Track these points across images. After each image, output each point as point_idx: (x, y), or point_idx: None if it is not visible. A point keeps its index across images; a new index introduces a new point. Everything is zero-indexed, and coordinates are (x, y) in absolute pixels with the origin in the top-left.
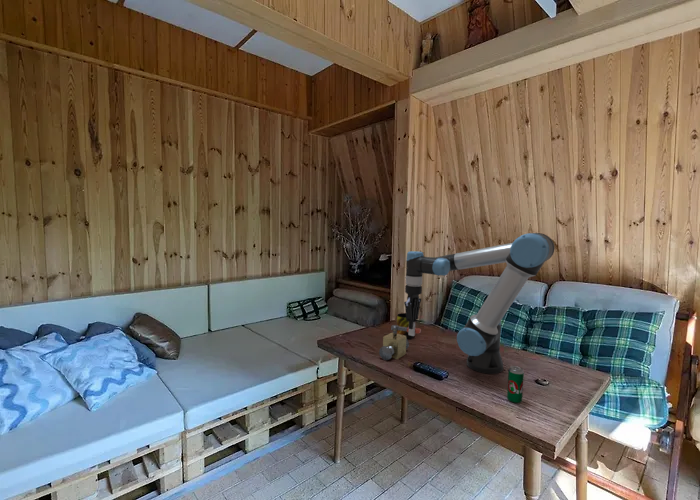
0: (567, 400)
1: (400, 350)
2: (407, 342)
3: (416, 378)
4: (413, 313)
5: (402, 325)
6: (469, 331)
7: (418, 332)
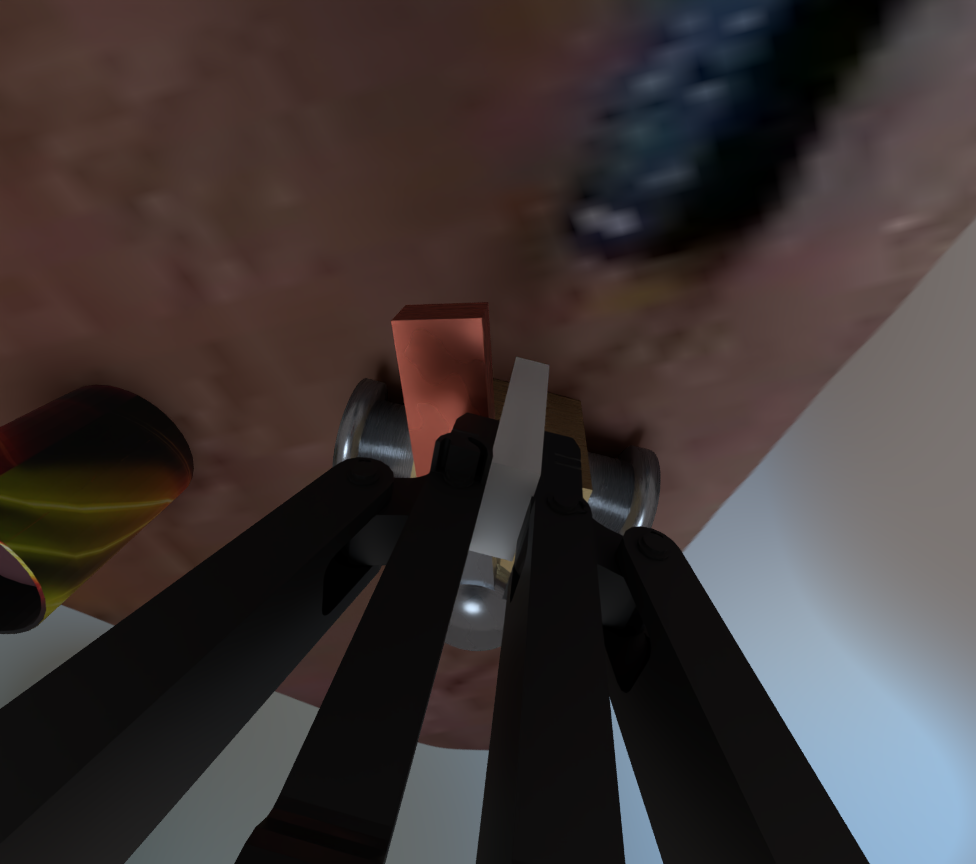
0: None
1: None
2: (368, 403)
3: (946, 156)
4: (582, 666)
5: (107, 527)
6: None
7: (489, 325)
